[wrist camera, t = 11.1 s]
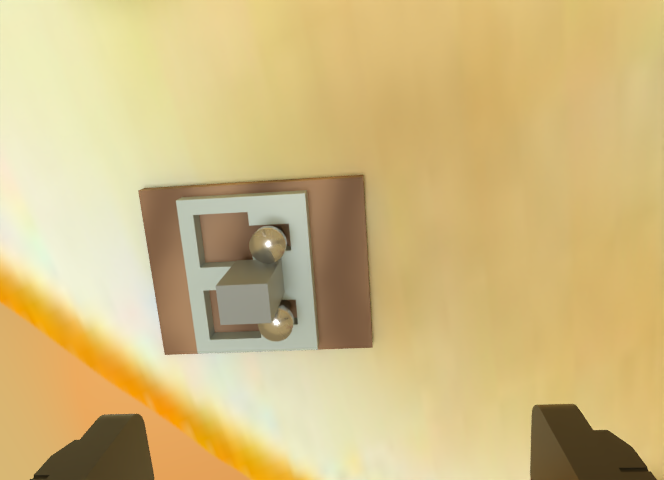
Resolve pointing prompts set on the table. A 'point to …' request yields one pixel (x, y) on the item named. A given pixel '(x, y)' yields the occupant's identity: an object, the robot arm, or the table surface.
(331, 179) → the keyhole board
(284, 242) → the keyhole posts
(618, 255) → the table surface
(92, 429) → the robot arm
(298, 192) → the slotted plate
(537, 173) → the table surface
